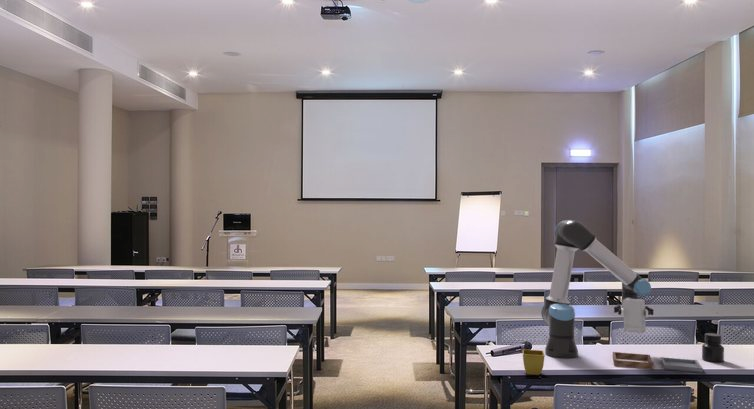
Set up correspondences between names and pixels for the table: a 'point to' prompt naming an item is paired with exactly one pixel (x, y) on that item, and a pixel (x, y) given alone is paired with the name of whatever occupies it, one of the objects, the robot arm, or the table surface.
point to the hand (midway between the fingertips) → (634, 313)
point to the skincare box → (634, 315)
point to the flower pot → (533, 361)
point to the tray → (681, 365)
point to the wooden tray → (632, 363)
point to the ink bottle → (713, 348)
